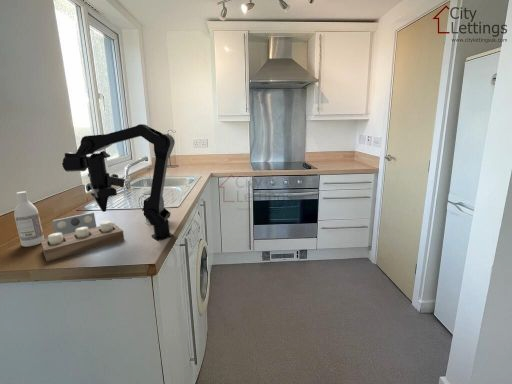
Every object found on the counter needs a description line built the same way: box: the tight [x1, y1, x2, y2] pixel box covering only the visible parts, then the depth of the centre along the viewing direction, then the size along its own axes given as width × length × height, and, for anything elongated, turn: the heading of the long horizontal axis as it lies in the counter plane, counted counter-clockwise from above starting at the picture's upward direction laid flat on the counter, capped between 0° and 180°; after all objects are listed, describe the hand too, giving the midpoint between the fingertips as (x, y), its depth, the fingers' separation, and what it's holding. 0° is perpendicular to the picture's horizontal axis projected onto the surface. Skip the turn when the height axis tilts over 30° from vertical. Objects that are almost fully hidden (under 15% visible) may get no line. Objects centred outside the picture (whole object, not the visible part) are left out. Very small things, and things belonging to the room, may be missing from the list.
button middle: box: [75, 227, 90, 239], centre depth 101 cm, size 4×4×4 cm
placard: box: [52, 211, 97, 235], centre depth 111 cm, size 1×14×8 cm, turn 132°
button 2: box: [99, 220, 113, 233], centre depth 106 cm, size 4×4×4 cm
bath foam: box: [13, 191, 45, 248], centre depth 103 cm, size 7×7×20 cm
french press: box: [138, 166, 152, 226], centre depth 123 cm, size 10×12×25 cm
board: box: [40, 222, 125, 262], centre depth 101 cm, size 12×24×4 cm, turn 132°
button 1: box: [47, 232, 64, 245], centre depth 96 cm, size 4×4×4 cm
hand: (104, 211), depth 104 cm, fingers closed
